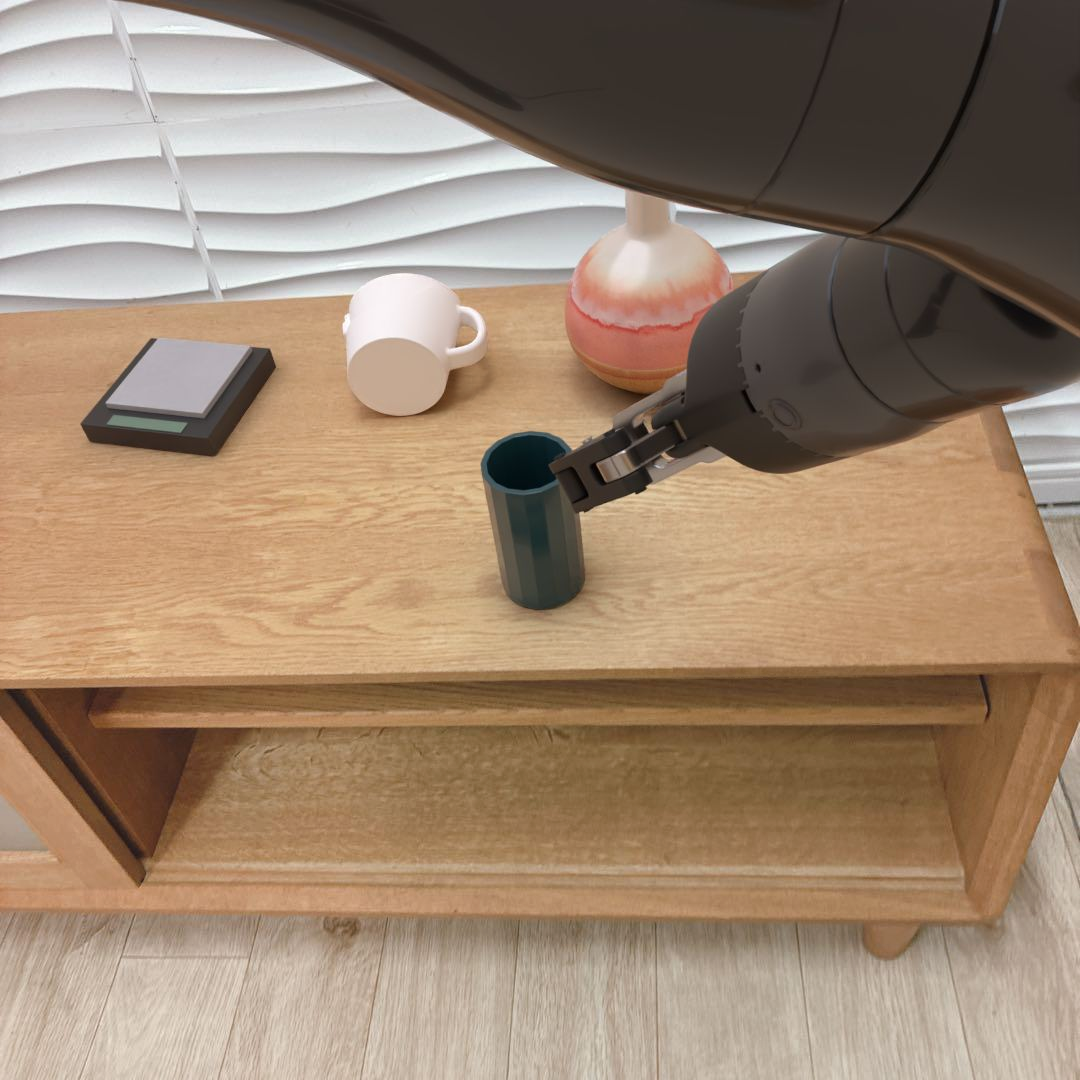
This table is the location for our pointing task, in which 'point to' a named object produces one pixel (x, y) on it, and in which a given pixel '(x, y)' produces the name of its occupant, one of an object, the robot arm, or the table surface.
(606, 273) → the vase
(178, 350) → the scale
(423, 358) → the mug
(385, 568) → the table surface
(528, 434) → the cup
